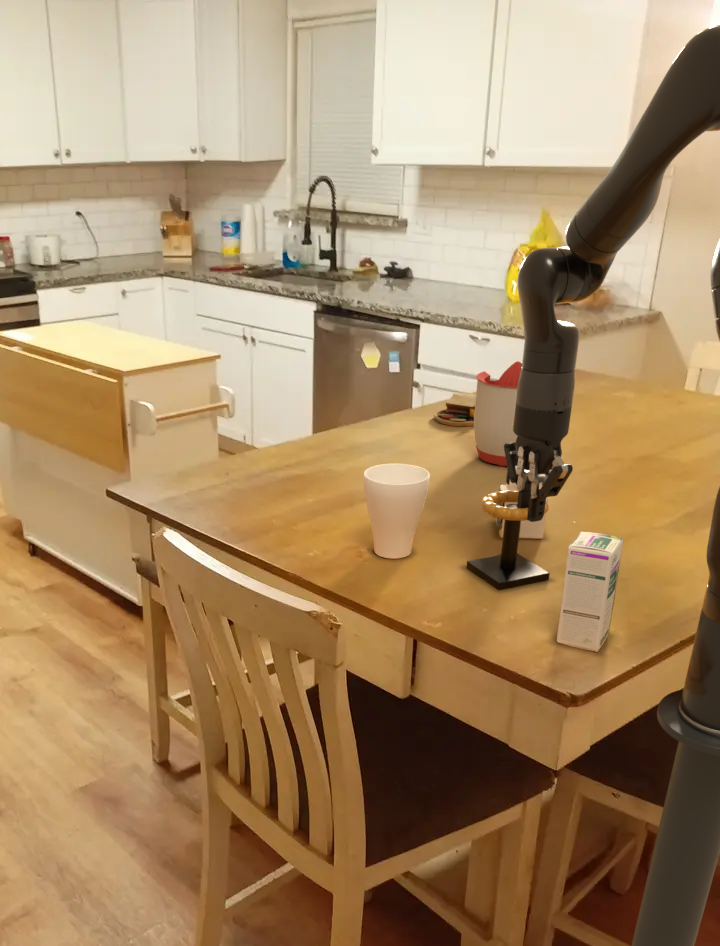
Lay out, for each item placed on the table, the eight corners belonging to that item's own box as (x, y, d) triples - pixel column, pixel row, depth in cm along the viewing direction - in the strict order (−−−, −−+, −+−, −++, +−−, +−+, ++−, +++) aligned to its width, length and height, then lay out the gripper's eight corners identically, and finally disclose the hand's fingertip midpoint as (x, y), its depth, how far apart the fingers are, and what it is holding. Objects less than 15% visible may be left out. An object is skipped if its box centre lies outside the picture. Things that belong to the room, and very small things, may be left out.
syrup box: (598, 653, 126) (615, 552, 119) (553, 642, 129) (568, 544, 122) (609, 635, 130) (626, 537, 123) (565, 625, 133) (580, 529, 126)
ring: (560, 516, 141) (561, 504, 140) (505, 526, 138) (506, 514, 137) (522, 496, 149) (523, 485, 148) (469, 505, 146) (470, 494, 145)
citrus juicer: (514, 441, 208) (524, 348, 198) (562, 464, 193) (575, 365, 184) (451, 450, 204) (458, 355, 194) (494, 474, 189) (505, 373, 180)
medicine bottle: (495, 522, 167) (502, 456, 161) (537, 523, 166) (545, 457, 160) (499, 538, 161) (507, 470, 155) (543, 539, 160) (552, 471, 154)
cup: (358, 540, 162) (360, 463, 156) (420, 539, 162) (425, 462, 155) (363, 565, 153) (366, 485, 147) (428, 564, 153) (434, 484, 146)
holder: (548, 579, 146) (558, 511, 141) (498, 590, 143) (506, 521, 138) (514, 558, 154) (522, 492, 148) (466, 567, 151) (472, 501, 146)
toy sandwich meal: (423, 422, 223) (424, 402, 221) (450, 409, 233) (452, 390, 230) (472, 430, 216) (474, 409, 214) (498, 416, 226) (500, 396, 223)
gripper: (492, 392, 136) (481, 506, 145) (552, 416, 125) (536, 538, 133) (536, 386, 139) (523, 499, 147) (599, 409, 127) (580, 529, 136)
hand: (529, 517), depth 140 cm, fingers closed on ring, 2 cm apart
